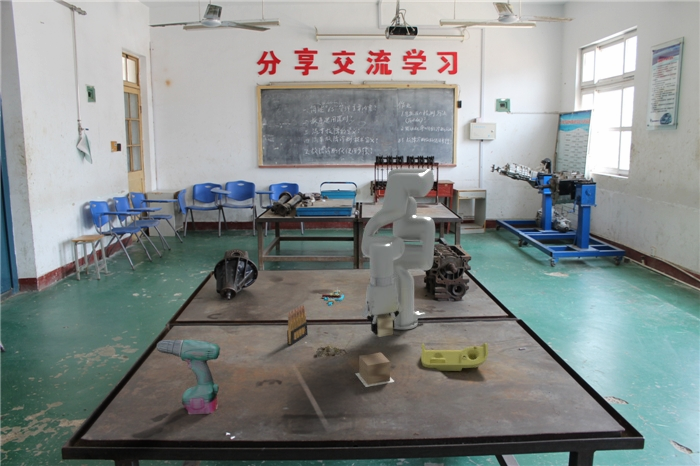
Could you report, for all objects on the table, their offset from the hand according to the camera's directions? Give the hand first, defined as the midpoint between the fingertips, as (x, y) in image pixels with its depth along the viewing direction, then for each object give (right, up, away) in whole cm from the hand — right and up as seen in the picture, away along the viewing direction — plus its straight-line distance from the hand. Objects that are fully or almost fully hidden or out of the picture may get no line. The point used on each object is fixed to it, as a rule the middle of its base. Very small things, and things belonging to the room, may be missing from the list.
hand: (382, 331), depth 174 cm
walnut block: (-4, -11, -18) cm, 21 cm away
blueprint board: (-4, -12, -16) cm, 20 cm away
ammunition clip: (-30, -6, +15) cm, 34 cm away
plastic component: (+22, -10, -8) cm, 25 cm away
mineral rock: (-17, -9, +1) cm, 19 cm away
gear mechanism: (-19, +3, +62) cm, 65 cm away
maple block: (0, -1, 0) cm, 1 cm away
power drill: (-54, -15, -31) cm, 64 cm away
